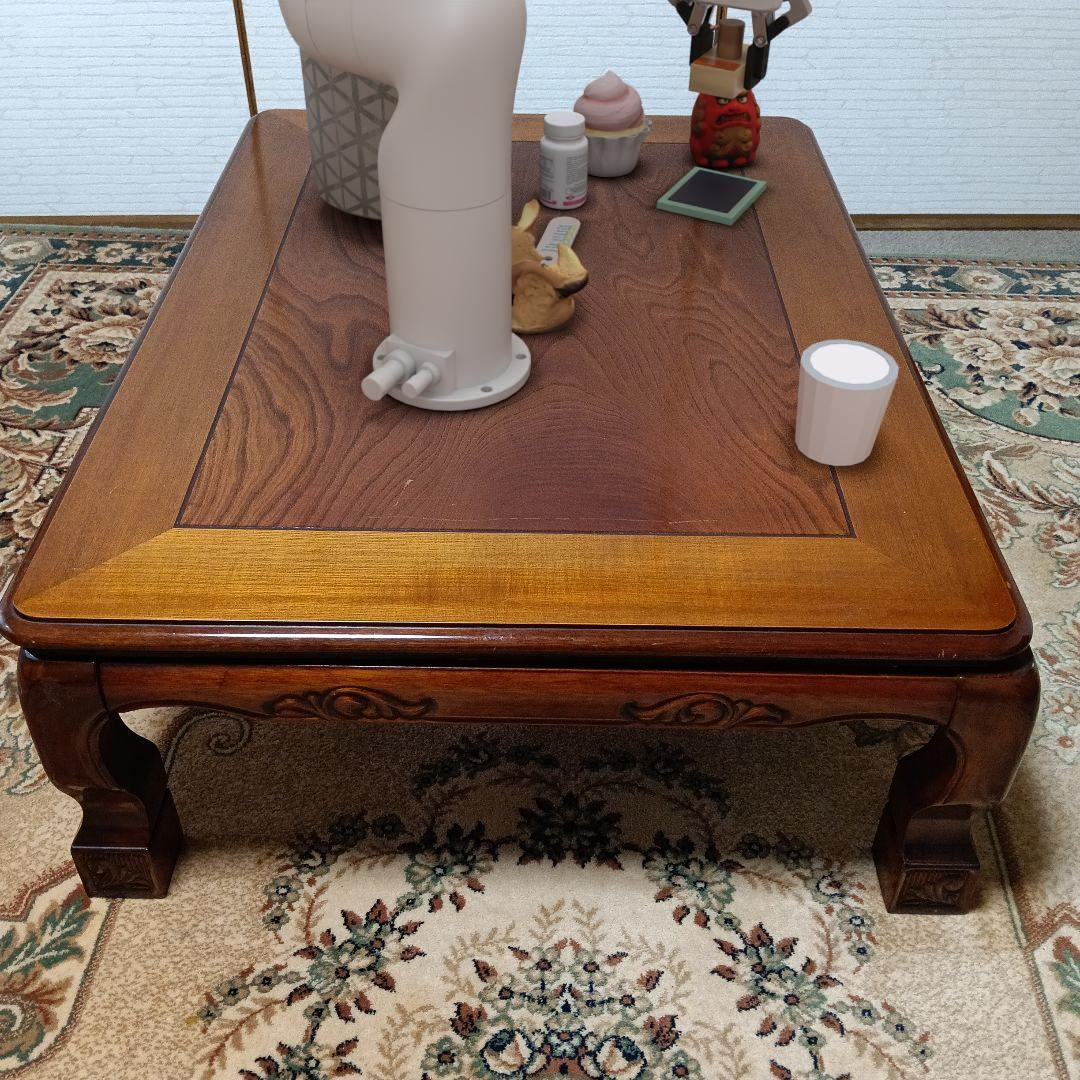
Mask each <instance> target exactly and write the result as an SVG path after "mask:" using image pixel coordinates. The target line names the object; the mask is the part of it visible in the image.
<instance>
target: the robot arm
mask: <svg viewBox="0 0 1080 1080" xmlns="http://www.w3.org/2000/svg"><path fill="white" fill-rule="evenodd" d="M277 2H278V5H279V9H280V13H281V16H282V19H283V21H284V24H285V27H286V29H287V30H288V33H289V34H290V37H291V38H292V39H293V41H294V43H295V44H296V45H297V46H298V48H299V47H300V48H301V50H303V51H304V52H305V53H306V54H307V55H308V56H310V57H311V58H313V59H315V60H316V61H318V62H320V63H323V64H325V65H328V66H331V67H333V68H337V69H340V70H343V71H346V72H350V73H353V74H357V75H360V76H363V77H367V78H370V79H374V80H377V81H379V82H381V83H384V84H387V85H390V86H392V87H394V88H396V89H397V91H398V95H399V98H398V104H397V107H396V109H395V111H394V114H393V115H392V117H391V119H390V121H389V123H388V124H387V126H386V128H385V130H384V132H383V135H382V137H381V140H380V144H379V149H378V181H379V190H380V203H381V216H382V222H381V227H382V242H383V243H382V244H383V256H384V257H383V258H384V269H385V281H386V282H385V283H386V294H387V295H386V297H387V310H388V321H389V323H388V324H389V335H388V336H387V337H385V339H383V340H382V341H381V342H380V344H379V345H378V346H377V347H376V349H375V351H374V353H373V355H372V370H373V371H372V372H371V373H369V374H368V375H367V376H365V377H364V378H362V381H361V383H360V387H361V390H362V392H363V394H364V395H365V396H366V397H367V398H368V399H369V400H371V401H374V402H378V401H380V400H381V399H382V398H384V397H385V396H386V395H389V396H390V397H392V398H393V399H395V400H397V401H400V402H401V403H404V404H406V405H409V406H413V407H416V408H420V409H426V410H432V411H443V412H446V411H447V412H455V411H467V410H468V411H469V410H474V409H480V408H483V407H487V406H491V405H494V404H497V403H499V402H501V401H503V400H506V399H508V398H509V397H511V396H512V395H514V394H516V393H517V392H518V391H519V390H520V389H521V388H523V387H524V385H525V384H526V382H527V381H528V380H529V377H530V375H531V370H532V356H531V352H530V349H529V347H528V346H527V344H526V343H525V342H524V339H522V338H520V337H519V336H518V335H517V334H515V332H512V306H513V305H512V301H513V300H512V295H513V292H512V290H511V226H512V142H513V141H512V136H513V123H514V122H513V119H514V109H515V101H516V93H517V92H516V91H517V86H518V80H519V75H520V69H521V63H522V59H523V55H524V50H525V43H526V39H527V38H526V37H527V28H528V27H527V26H528V10H527V3H526V0H277ZM667 2H668V3H669V4H670V5H671V6H672V7H674V8H675V10H676V13H677V14H678V15H679V17H680V19H681V20H682V21H683V23H684V24H685V26H686V27H687V28H686V31H687V33H688V34H689V35H690V48H689V59H688V65H689V67H691V64H692V63H693V62H694V61H696V60H697V59H698V58H699V57H701V56H702V55H703V54H705V53H706V52H707V51H709V50H710V49H711V48H713V47H714V41H715V39H714V38H715V30H714V31H713V29H712V28H710V23H711V20H712V18H713V16H714V15H713V14H714V12H715V9H716V7H721V8H722V7H725V8H728V9H734V10H741V11H747V12H750V15H751V25H752V33H753V34H752V35H753V36H752V37H753V38H752V43H751V44H749V45H750V46H749V47H748V49H747V56H746V68H745V76H744V85H743V87H744V88H745V89H746V90H753V89H754V88H755V87H756V86H758V85H759V83H761V81H763V80H764V79H765V78H766V76H767V73H768V72H767V71H768V65H769V57H770V50H771V41H773V40H774V39H775V38H777V37H778V36H779V35H780V34H781V33H783V32H784V31H785V30H787V29H788V28H790V27H792V26H794V25H796V24H797V23H800V22H801V21H803V20H804V19H806V18H807V17H808V16H809V15H810V14H812V13H813V7H812V4H811V2H810V0H667ZM785 2H788V3H789V7H790V8H789V10H788V11H786V12H784V13H782V14H781V15H779V16H778V17H777V18H776V11H778V10H780V9H781V7H782V5H783V3H785Z"/></svg>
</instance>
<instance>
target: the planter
mask: <svg viewBox="0 0 1080 1080" xmlns="http://www.w3.org/2000/svg"><path fill="white" fill-rule="evenodd" d="M298 49H299V57H300V65H301V66H300V67H301V76H302V86H303V94H304V95H303V96H304V102H305V111H306V121H307V130H308V139H309V149H310V155H311V156H310V158H311V167H312V168H311V169H312V176H313V185H314V190H315V191H316V193H317V195H318V196H319V198H321V199H322V200H323V201H324V203H326V204H328V205H330V206H331V207H333V208H335V209H336V210H339V211H342V212H344V213H347V214H350V215H354V216H357V217H361V218H365V219H370V220H373V221H374V222H375V221H376V222H379V223H382V216H381V203H380V190H379V181H378V149H379V144H380V140H381V137H382V135H383V132H384V130H385V128H386V126H387V124H388V123H389V121H390V119H391V117H392V115H393V114H394V111H395V109H396V107H397V104H398V98H399V95H398V91H397V89H396V88H394V87H392V86H390V85H387V84H384V83H381V82H379V81H377V80H374V79H370V78H367V77H363V76H360V75H357V74H353V73H350V72H346V71H343V70H340V69H337V68H333V67H331V66H328V65H325V64H323V63H320V62H318V61H316V60H315V59H313V58H311V57H310V56H308V55H307V54H306V53H305V52H304V51H303V50H301V48H300V47H299V46H298Z"/></svg>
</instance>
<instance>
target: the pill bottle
mask: <svg viewBox="0 0 1080 1080" xmlns="http://www.w3.org/2000/svg"><path fill="white" fill-rule="evenodd" d="M543 133H544V135H543V136H541V138H540V141H539V171H538V172H539V175H538V176H539V186H538V188H539V189H538V190H539V191H538V194H539V201H540V203H541V204H542V205H544V206H545V207H547V208H549V209H556V210H572V209H576V208H578V207H581V206H583V205H584V204H585V202H586V201H587V195H588V193H587V192H588V190H587V189H588V174H587V170H588V169H587V168H588V140H587V138H586V137H585V136H584V133H585V118H584V116H583V115H581V114H579V113H576V112H573V111H570V110H557V111H556V110H555V111H553V112H549V113H547V114H546V115H544V117H543Z"/></svg>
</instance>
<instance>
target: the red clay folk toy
mask: <svg viewBox="0 0 1080 1080" xmlns="http://www.w3.org/2000/svg"><path fill="white" fill-rule="evenodd" d="M721 10H722V13H723V17H722V19H720V18H719V19H717V21H718V22H720V21H721V20H723V19H728V18H727V17H728V14H727V7H722V6H721ZM733 19H736V18H735V17H734V18H733ZM710 28H712V29H713V31H714V32H715V31H719V24H715V25H713V24H712V23H711V22H710ZM690 117H691V118H690V131H689V132H690V134H689V139H688V147H689V150H690V153H691V155H692V158H693V159H694V161H695V162H696V163H697V165H699V166H701V167H710V168H712V167H713V168H718V169H719V168H726V167H728V166H730V167H735V168H742V167H745V166H750V165H751V164H753V163H754V162H755V158H756V152H757V151H758V148H759V146H760V143H761V133H760V130H761V128H762V120H761V108H760V105H759V104H758V102H757V99H756V97H755V93H754V92H753V89H751V90H746V89H744V90H743V91H742V92H741V93H739V94H738V95H737V96H736V97H735V98H734V99H728V98H723V97H718V96H713V95H707V94H702V93H698V95H697V96H696V99H695V102H694V104H693V107H692V111H691V116H690Z"/></svg>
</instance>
